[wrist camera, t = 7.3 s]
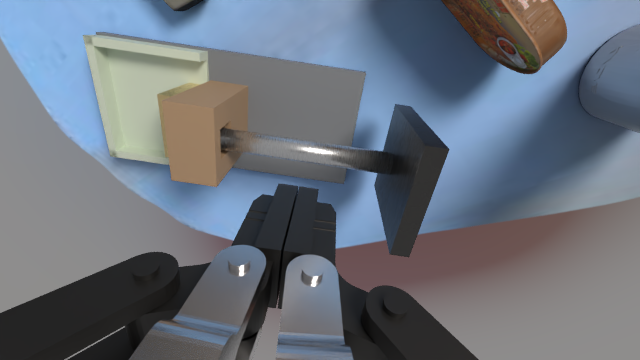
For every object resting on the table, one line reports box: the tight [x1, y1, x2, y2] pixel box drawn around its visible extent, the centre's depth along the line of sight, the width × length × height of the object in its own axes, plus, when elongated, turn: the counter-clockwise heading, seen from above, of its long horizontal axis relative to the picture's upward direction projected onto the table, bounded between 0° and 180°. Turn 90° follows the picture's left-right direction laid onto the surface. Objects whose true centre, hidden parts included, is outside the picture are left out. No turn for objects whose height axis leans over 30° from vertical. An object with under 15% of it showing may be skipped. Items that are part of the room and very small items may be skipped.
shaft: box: [220, 104, 449, 257], centre depth 25 cm, size 19×9×11 cm, turn 82°
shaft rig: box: [83, 32, 366, 187], centre depth 28 cm, size 28×13×11 cm, turn 82°
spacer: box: [157, 83, 201, 157], centre depth 29 cm, size 2×6×6 cm, turn 172°
